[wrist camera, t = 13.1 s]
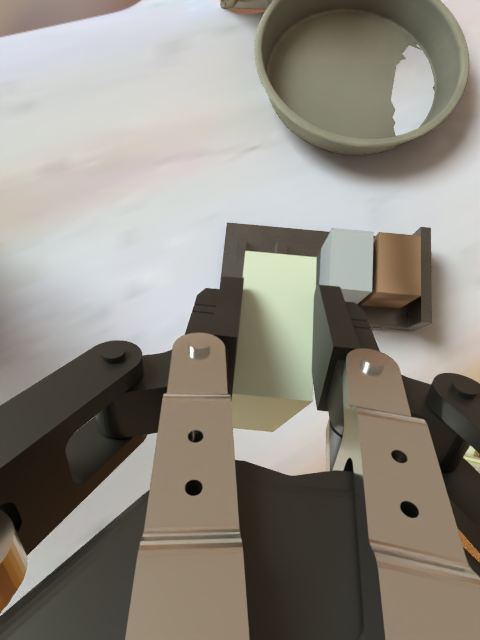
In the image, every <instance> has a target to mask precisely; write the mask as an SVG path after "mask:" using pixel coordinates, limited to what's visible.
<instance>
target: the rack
mask: <svg viewBox="0 0 480 640" xmlns="http://www.w3.org/2000/svg"><path fill="white" fill-rule="evenodd" d="M329 233H330V232H324V231H313V230H302V229H291V228H281V227H270V226H259V225H248V224H237V223H227V228H226V237H225V246H224V255H223V264H222V273H221V281H222V277H223V275H224V276H234V277H243V268H244V258H245V251H254V252H265V253H276V254H287V255H298V256H308V257H317V262H316V286H317V285H319V278H320V260H321V248H322V246H323V244H324V242H325V240H326V239H327V237H328V235H329ZM413 235H415V236H421V296H420V297H418V298H417V299H415V300H413V301H411V302H410V303H408V304H406V305H405V306H403V307H401V308H400V309H396V308H385V307H374V306H364V305H361V301H360V302H359V303H358V304H357V305H358V306H359V307H360V308H361V309H362V310H363V311H364V313H365V316H366V318H367V322H368V323H369V326H370V327H378V328H389V329H400V330H410V331H414V330H416V329H419V328H421V327H424V326H426V325H428V324H431V323H432V311H431V228H426V227H420V228H419V229H418V230H417V231H416V232H415V233H414V234H413ZM375 237H376V236H373V239H374V238H375ZM220 286H221V282H220Z"/></svg>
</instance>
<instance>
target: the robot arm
mask: <svg viewBox="0 0 480 640" xmlns="http://www.w3.org/2000/svg"><path fill="white" fill-rule="evenodd" d="M243 285H244V277H234V276H224V275H223V277H222V281H221V286H220V289H210V288H206V289H204V290H203V291H202V292H201V293H199V294H198V295H197V298H196V301H195V305H194V307H193V310H192V314H191V317H190V320H189V323H188V326H187V329H186V333H185V335H184V336H182V337H180V338H178V339H177V340H176V341H175V343H174V344H173V349H172V350H170V351H168V352H164V353H160V354H153V355H144V356H142V352H141V349H140V348H139V347H138V346H137V345H135V344H133V343H131V342H127V341H109V342H105V343H101V344H99V345H97V346H95V347H93V348H92V349H90V350H88V351H87V352H85V353H84V354H82V355H80V356H79V357H77V358H76V359H74V360H73V361H71V362H69V363H68V364H66V365H65V366H63V367H61V368H60V369H58V370H57V371H55V372H53V373H52V374H50V375H49V376H47V377H45V378H44V379H42V380H41V381H39V382H38V383H36V384H34V385H33V386H31V387H30V388H28V389H26V390H25V391H23V392H22V393H20V394H18V395H17V396H15V397H14V398H12V399H10V400H9V401H7V402H6V403H4V404H2V405H1V406H0V613H1V611H2V610H3V609H4V608H5V607H6V606H7V605H8V603H9V602H10V600H11V598H12V596H13V595H14V594H15V592H16V591H17V590H18V588H19V586H20V585H21V583H22V581H23V579H24V576H25V573H26V569H27V555H28V554H29V553H30V552H31V551H32V550H33V549H34V548H35V547H36V546H37V545H38V544H39V543H40V542H41V541H42V540H43V539H44V538H45V537H46V536H47V535H48V534H49V533H50V532H52V531H53V530H54V529H55V528H56V527H57V526H58V525H59V524H60V523H61V522H62V521H63V520H64V519H65V518H66V517H67V516H68V515H69V514H70V513H71V512H72V511H73V510H74V509H75V508H76V507H77V506H78V505H79V504H80V503H81V502H82V501H83V500H84V499H85V498H86V497H87V496H88V495H89V494H90V493H91V492H92V491H93V490H94V489H95V488H96V487H97V486H98V485H99V484H100V483H101V482H102V481H103V480H104V479H105V478H107V477H108V476H109V475H110V474H111V473H112V472H113V471H114V470H115V469H116V468H117V467H118V466H119V465H120V464H121V463H122V462H123V461H124V460H125V459H126V458H127V457H128V456H129V455H130V454H131V453H132V452H133V451H134V450H135V449H136V448H137V447H138V446H139V445H140V444H141V443H142V442H143V441H144V440H145V438H146V436H147V434H152V433H158V434H157V441H156V448H155V455H154V463H153V470H152V477H151V484H150V490H149V491H147V492H146V493H145V494H144V495H142V496H141V497H140V498H139V499H138V500H136V501H135V502H134V503H133V504H132V505H131V506H129V507H128V508H127V509H126V510H125V511H124V512H122V513H121V514H120V515H119V516H118V517H117V518H115V519H114V520H113V521H112V522H111V523H109V524H108V525H107V526H106V527H105V528H104V529H102V530H101V531H100V532H99V533H98V534H97V535H95V536H94V537H93V538H92V539H91V540H89V541H88V542H87V543H86V544H85V545H84V546H82V547H81V548H80V549H79V550H78V551H77V552H75V553H74V554H73V555H72V556H71V557H69V558H68V559H67V560H66V561H65V562H64V563H62V564H61V565H60V566H59V567H58V568H57V569H55V570H54V571H53V572H52V573H51V574H49V575H48V576H47V577H46V578H45V579H44V580H42V581H41V582H40V583H39V584H38V585H37V586H35V587H34V588H33V589H32V590H31V591H29V592H28V593H27V594H26V595H25V596H24V597H22V598H21V599H20V600H19V601H18V602H17V603H15V604H14V605H13V606H12V607H11V608H9V609H8V610H7V611H6V612H5V613H4V614H2V615H1V616H0V640H480V563H479V562H478V561H477V560H476V559H475V558H474V557H473V556H472V555H471V554H470V553H469V552H468V551H467V550H466V549H465V548H464V547H463V546H462V542H461V539H460V535H459V532H458V529H459V530H460V531H461V532H462V533H463V534H464V535H465V537H466V538H467V539H468V540H469V541H470V542H471V543H472V545H473V546H474V547H475V548H476V549H477V550H478V551H479V553H480V473H479V472H478V471H477V470H476V469H475V468H474V467H473V466H472V465H471V464H470V463H469V462H468V461H467V460H465V459H464V458H463V457H464V455H465V453H466V452H467V450H468V448H469V447H470V446H472V447H473V448H474V449H475V450H476V451H477V452H478V453H479V454H480V384H479V383H478V382H476V381H474V380H472V379H470V378H468V377H465V376H462V375H459V374H454V373H443V374H439V375H437V376H436V377H435V378H434V380H433V382H432V384H431V385H430V384H427V383H424V382H420V381H417V380H414V379H411V378H408V377H405V376H403V375H401V373H400V369H399V366H398V365H397V363H396V362H395V361H394V360H393V359H392V358H391V357H389V356H388V355H386V354H384V353H382V352H380V351H379V348H378V346H377V343H376V341H375V338H374V336H373V333H372V331H371V330H370V326H369V323H368V322H367V318H366V316H365V313H364V311H363V310H362V309H361V308H360V307H359V306H358V305H357V304H355V303H354V302H346V301H345V300H344V297H343V294H342V291H341V288H340V287H339V286H329V285H317V286H316V289H315V293H314V309H313V343H312V378H313V385H314V391H315V398H316V405H317V410H320V411H329V420H328V424H327V427H326V472H319V473H312V474H305V475H297V476H289V475H285V474H282V473H279V472H276V471H273V470H270V469H267V468H264V467H261V466H258V465H255V464H252V463H249V462H246V461H239V460H235V455H234V440H233V425H232V409H231V402H232V393H233V384H234V375H235V366H236V356H237V346H238V336H239V326H240V315H241V305H242V295H243ZM94 416H95V417H94ZM93 417H94V418H93ZM92 418H93V419H92ZM89 420H90V421H89ZM88 421H89V422H88ZM87 422H88V423H87ZM84 424H85V425H84ZM83 425H84V426H83ZM82 426H83V427H82ZM81 427H82V428H81ZM79 428H80V429H79ZM78 429H79V430H78ZM77 430H78V431H77ZM76 431H77V432H76Z"/></svg>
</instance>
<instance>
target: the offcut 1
mask: <svg viewBox="0 0 480 640" xmlns="http://www.w3.org/2000/svg"><path fill="white" fill-rule="evenodd" d="M373 234H374V232H368V231H357V230H346V229H336V228H332V229H331V231H330V233H329V235H328V237H327V239H326V240H325V242H324V244H323V246H322V248H321V260H320V278H319V285H329V286H339V287H340V288H341V291H342V294H343V297H344V300H345V301H346V302H354V303H355V304H358V303H359V302H360V301H361V300H363V299H364V298H365V297H366V296H367V295H369V294H370V293H371V292H372V276H373Z"/></svg>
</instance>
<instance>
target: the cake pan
mask: <svg viewBox="0 0 480 640" xmlns="http://www.w3.org/2000/svg"><path fill="white" fill-rule="evenodd" d="M417 44H418V45H419V46H420V48H421V49H422V50H423V51H424V53H425V55H426V57H427V58H428V60H429V63H430V65H431V68H432V72H433V76H434V82H435V85H434V87H433V89H434V91H435V93H434V100H433V104H432V107H431V109H430V112H429V114H428V116H427V118H426V119H425V121H424V122H423V123H422V125H421V126H420V127H419V128H418V129H416V130H413V131H411V132H409V133H406V134H403V135H399V136H396V135H395V132H394V128H393V127H394V125H395V121H394V120H393V118H392V117H393V114H394V112H395V109H394V107H393V104H392V102H391V95H392V87H393V81H394V75H395V70H396V65H397V64H398V63H399V61H400V60H403V59H406V58H405V57H404V56H403V55H402V53H403V52H404V51H405V49H406V48H407V47H408V46H409V45H411V46H413V47H415V48H418V49H420V48H419V47H417V46H416V45H417ZM254 46H255V48H254V54H255V62H256V67H257V72H258V75H259V78H260V80H261V83H262V85H263V87H264V89H265V91H266V92H267V94H268V96H269V98H270V101H271V103H272V106H273V108H274V110H275V111H276V113H277V115H278V116H279V118H280V119H281V120H282V121H283V123H284V124H285V125H286V126H287V127H288V128H289V129H290V130H291V131H292V132H294V133H295V134H296V135H297V136H299V137H300V138H302V139H303V140H305V141H307V142H308V143H310V144H312V145H314V146H316V147H319V148H321V149H324V150H327V151H331V152H335V153H340V154H347V155H367V154H374V153H379V152H383V151H386V150H389V149H392V148H394V147H397V146H399V145H401V144H402V143H404V142H407V141H410V140H412V139H415V138H417V137H419V136H421V135H423V134H425V133H427V132H429V131H430V130H432V129H434V128H435V127H436V126H438V125H439V124H440V123H441V122H442V121H444V120H445V119H446V117H447V116H449V114H450V113H451V112H452V111H453V109H454V108H455V107H456V105H457V104H458V102H459V100H460V99H461V96H462V94H463V92H464V89H465V86H466V83H467V79H468V74H469V54H468V48H467V44H466V40H465V37H464V34H463V32H462V30H461V28H460V26H459V24H458V22H457V20H456V19H455V17H454V16H453V15H452V13H451V12H450V11H449V9H448V8H447V7H446V6H445V5H444V4H443V3H442V2H441V1H440V0H273V1H272V2H271V4H270V5H269V6H268V8H267V9H266V11H265V12H264V14H263V16H262V18H261V20H260V22H259V25H258V28H257V32H256V37H255V44H254ZM421 49H420V50H421Z"/></svg>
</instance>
